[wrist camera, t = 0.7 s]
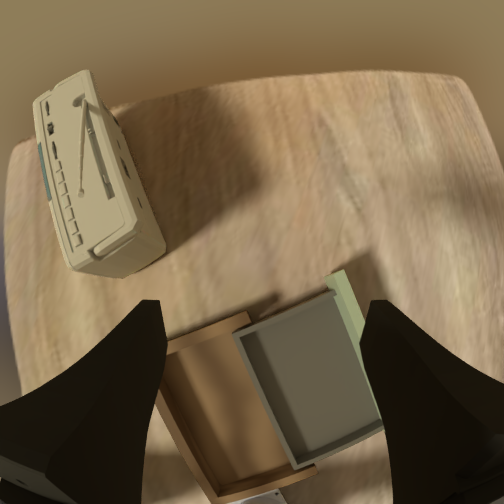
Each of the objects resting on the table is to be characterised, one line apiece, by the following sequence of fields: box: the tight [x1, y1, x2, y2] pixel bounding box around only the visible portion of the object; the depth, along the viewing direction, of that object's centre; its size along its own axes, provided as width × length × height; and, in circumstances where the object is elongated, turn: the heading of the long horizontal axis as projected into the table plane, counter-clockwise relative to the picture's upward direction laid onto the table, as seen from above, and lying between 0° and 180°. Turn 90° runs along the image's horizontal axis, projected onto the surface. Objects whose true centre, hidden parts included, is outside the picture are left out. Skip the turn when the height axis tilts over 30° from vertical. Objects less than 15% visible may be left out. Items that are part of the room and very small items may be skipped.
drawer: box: [232, 269, 385, 470], centre depth 32 cm, size 14×21×4 cm
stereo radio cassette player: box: [33, 70, 166, 279], centre depth 28 cm, size 21×8×20 cm, turn 26°
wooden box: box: [155, 310, 318, 504], centre depth 32 cm, size 13×21×4 cm, turn 23°
